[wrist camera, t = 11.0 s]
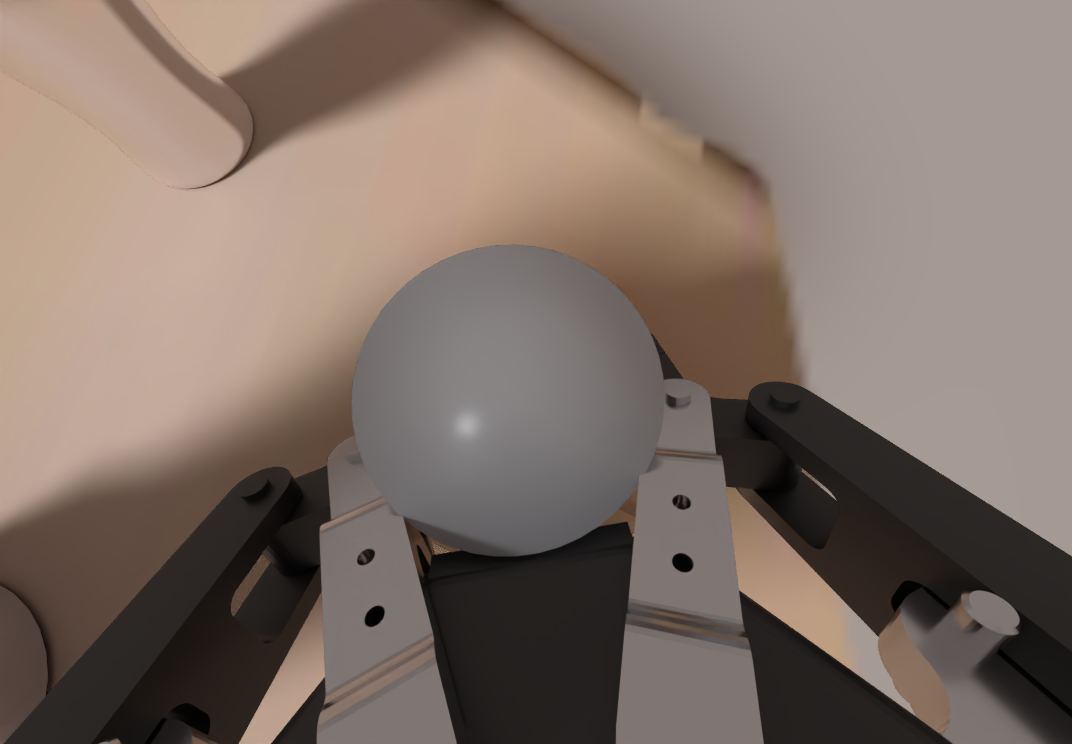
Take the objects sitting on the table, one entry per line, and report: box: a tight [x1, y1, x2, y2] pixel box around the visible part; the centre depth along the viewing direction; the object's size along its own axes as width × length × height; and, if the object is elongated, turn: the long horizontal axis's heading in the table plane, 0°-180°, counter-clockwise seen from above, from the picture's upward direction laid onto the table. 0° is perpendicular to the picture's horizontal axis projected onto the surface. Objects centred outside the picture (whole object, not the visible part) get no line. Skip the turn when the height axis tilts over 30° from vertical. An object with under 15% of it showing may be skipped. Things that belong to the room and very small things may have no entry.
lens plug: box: [351, 245, 665, 556], centre depth 11 cm, size 5×5×10 cm
